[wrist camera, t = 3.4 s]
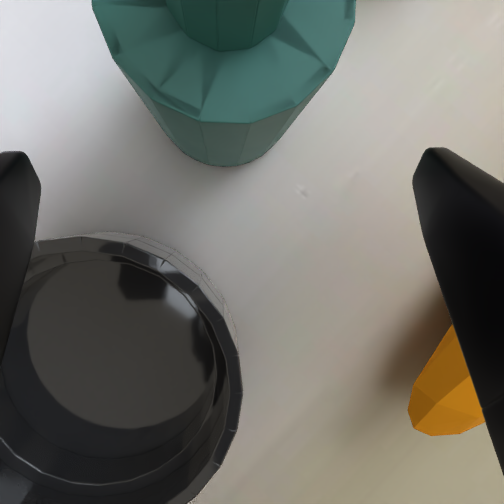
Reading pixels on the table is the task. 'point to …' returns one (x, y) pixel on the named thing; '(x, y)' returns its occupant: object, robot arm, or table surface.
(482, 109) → the table surface
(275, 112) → the bottle
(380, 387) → the table surface
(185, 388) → the pan
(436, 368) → the corn
